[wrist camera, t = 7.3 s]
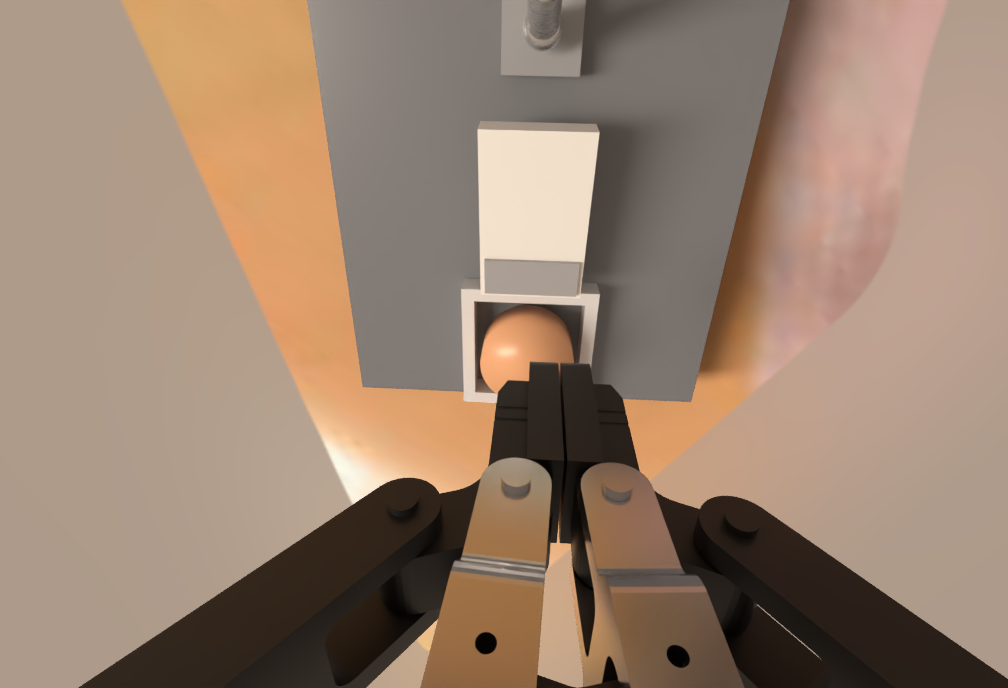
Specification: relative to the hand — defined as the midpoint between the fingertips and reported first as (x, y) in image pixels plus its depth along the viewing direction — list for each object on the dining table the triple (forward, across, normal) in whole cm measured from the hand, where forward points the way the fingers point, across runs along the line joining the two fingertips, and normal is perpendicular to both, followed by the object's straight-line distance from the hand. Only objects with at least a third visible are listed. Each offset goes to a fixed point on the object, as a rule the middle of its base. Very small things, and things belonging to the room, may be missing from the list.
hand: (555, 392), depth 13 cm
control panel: (+15, +1, -4) cm, 16 cm away
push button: (+12, +1, +5) cm, 13 cm away
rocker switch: (+11, +1, -2) cm, 11 cm away
